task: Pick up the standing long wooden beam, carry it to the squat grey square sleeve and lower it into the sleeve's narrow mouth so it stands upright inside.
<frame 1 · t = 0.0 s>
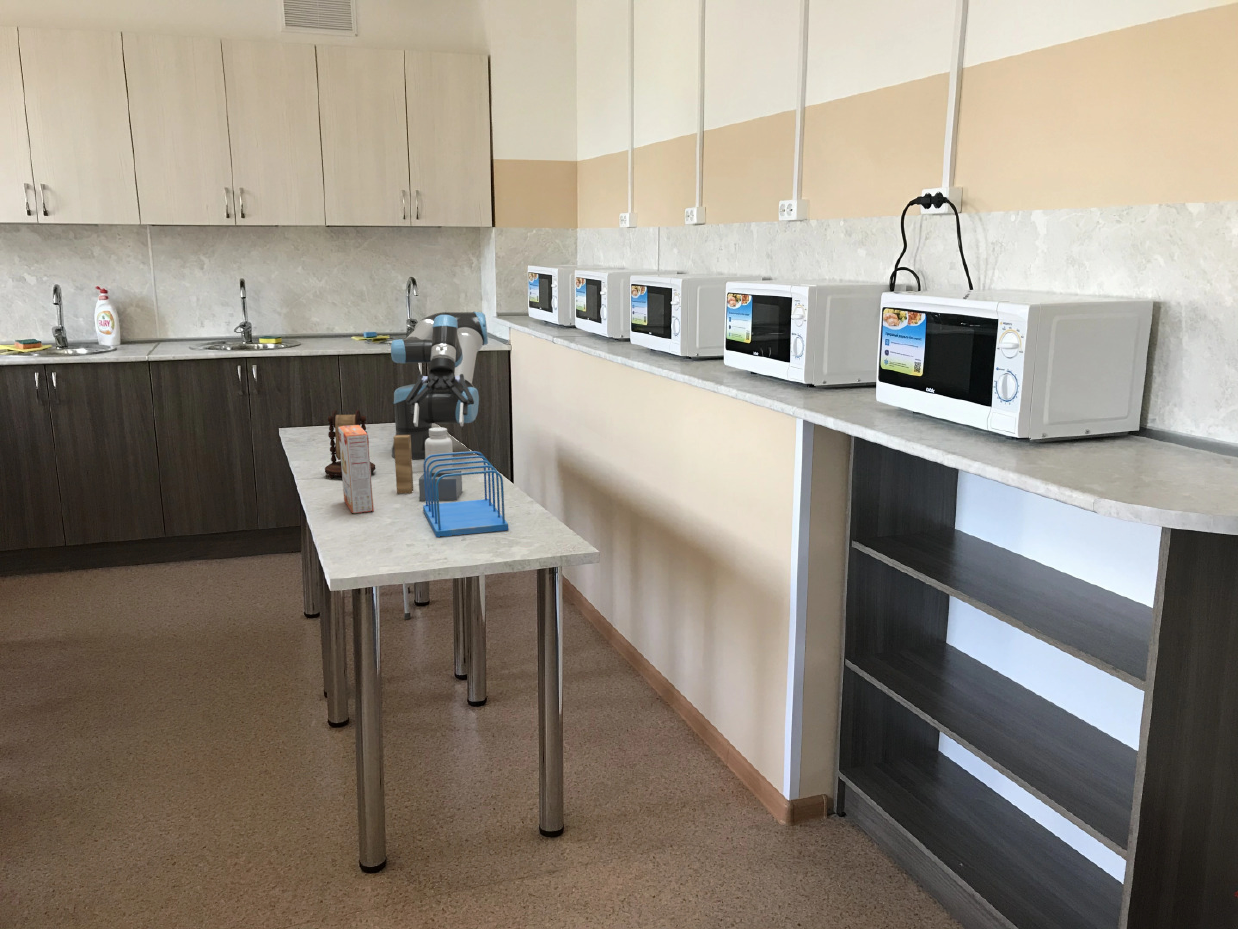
hand: (438, 424, 294), 15 cm above the table, tool tilted 35°, fingers open, 13 cm apart
grey square sleeve: (441, 496, 271), on the table
cracker box: (358, 507, 261), on the table
scroll: (350, 475, 298), on the table
pill bottle: (440, 479, 292), on the table
long wooden beam: (405, 492, 276), on the table
file sorter: (464, 522, 247), on the table
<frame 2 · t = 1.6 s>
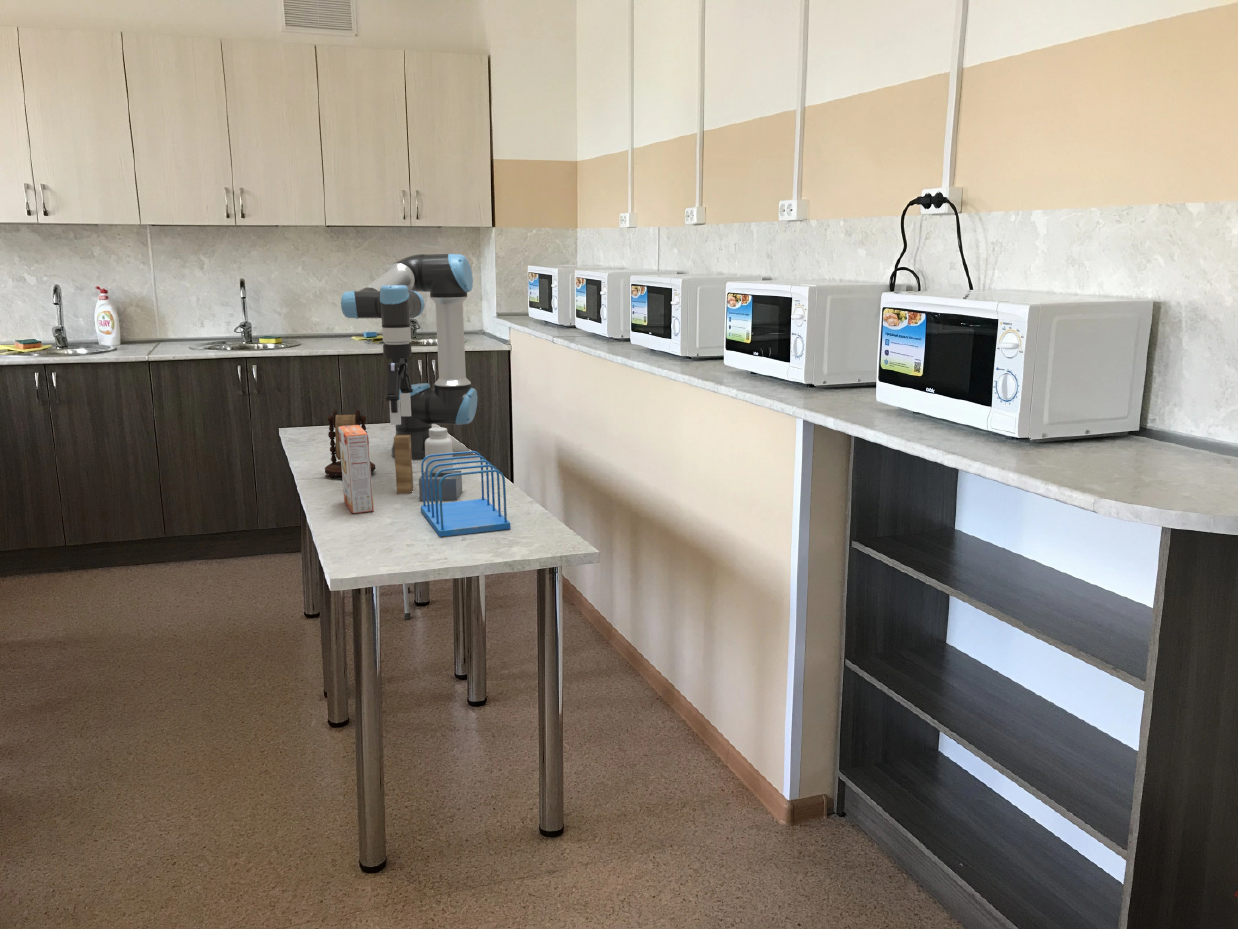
hand: (401, 420, 272), 20 cm above the table, tool pointing down, fingers open, 13 cm apart
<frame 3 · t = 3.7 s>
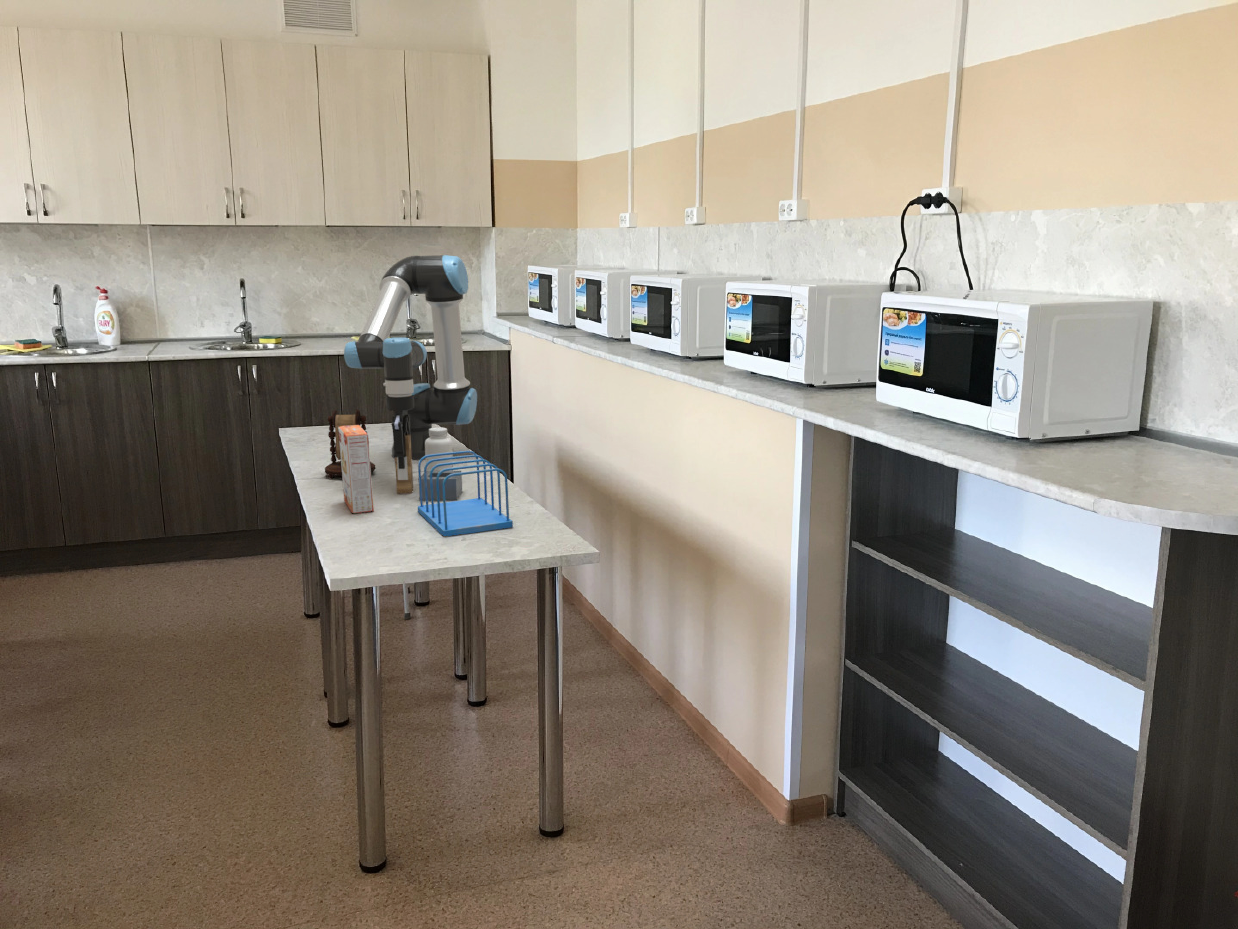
hand: (404, 477, 275), 4 cm above the table, tool pointing down, fingers closed on long wooden beam, 3 cm apart
long wooden beam: (405, 492, 276), on the table, touching gripper
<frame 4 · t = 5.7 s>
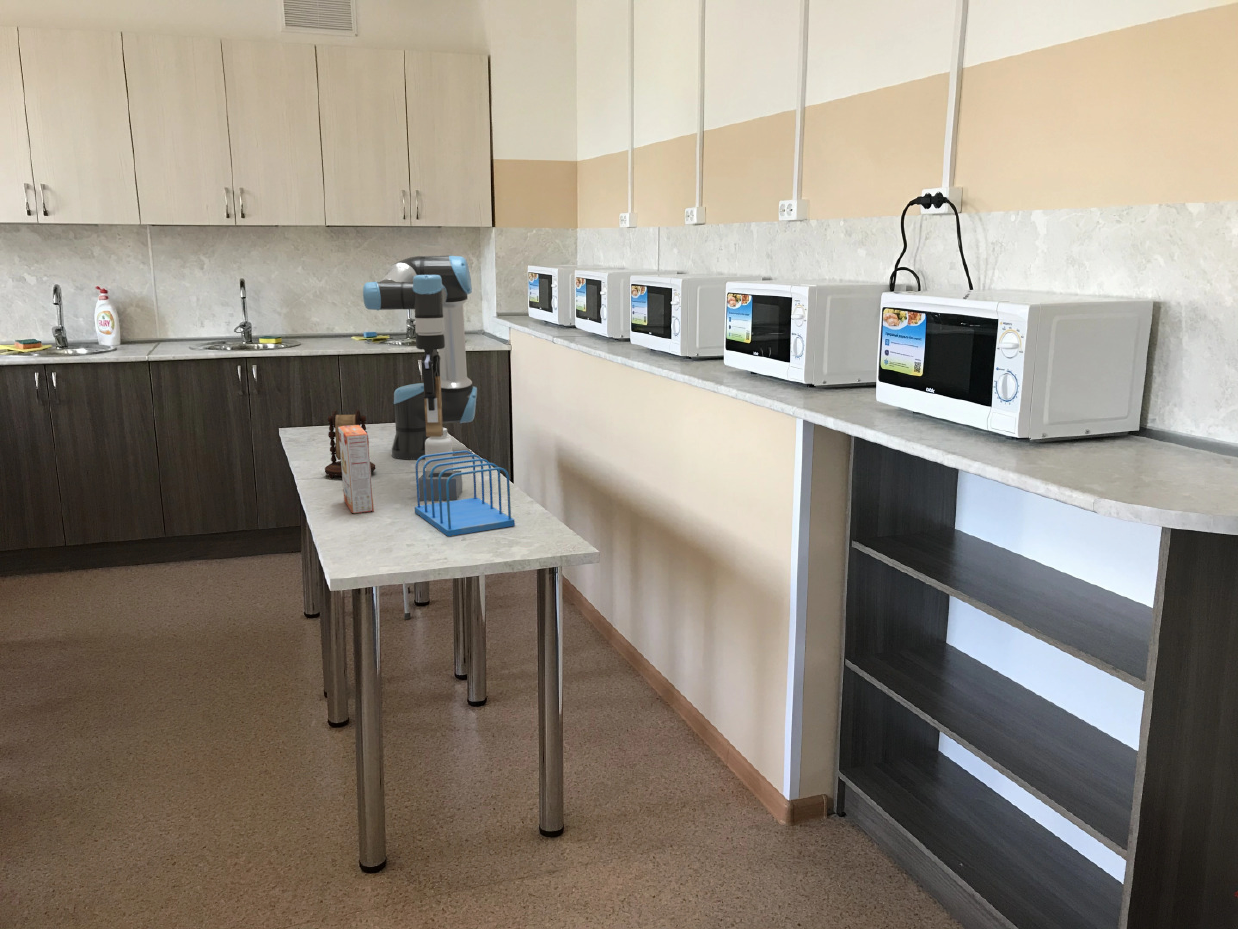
hand: (434, 420, 267), 21 cm above the table, tool pointing down, fingers closed on long wooden beam, 3 cm apart
long wooden beam: (434, 435, 268), point 17 cm above the table, touching gripper
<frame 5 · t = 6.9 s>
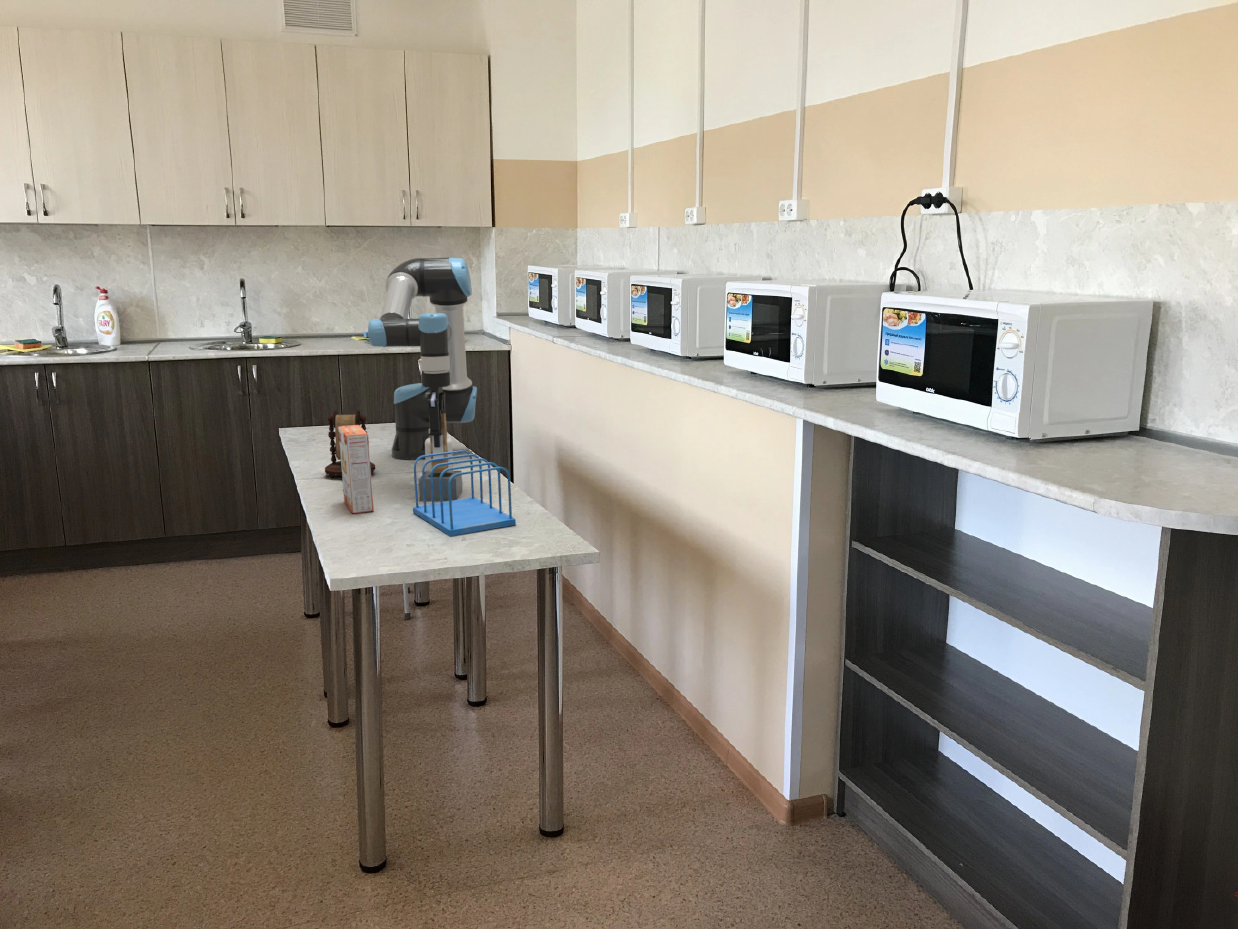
hand: (439, 457, 269), 11 cm above the table, tool pointing down, fingers closed on long wooden beam, 3 cm apart
long wooden beam: (440, 471, 270), point 7 cm above the table, touching gripper
when the fingers open (8 cm above the table, at t = 7.8 s): long wooden beam drops 3 cm, resting on grey square sleeve.
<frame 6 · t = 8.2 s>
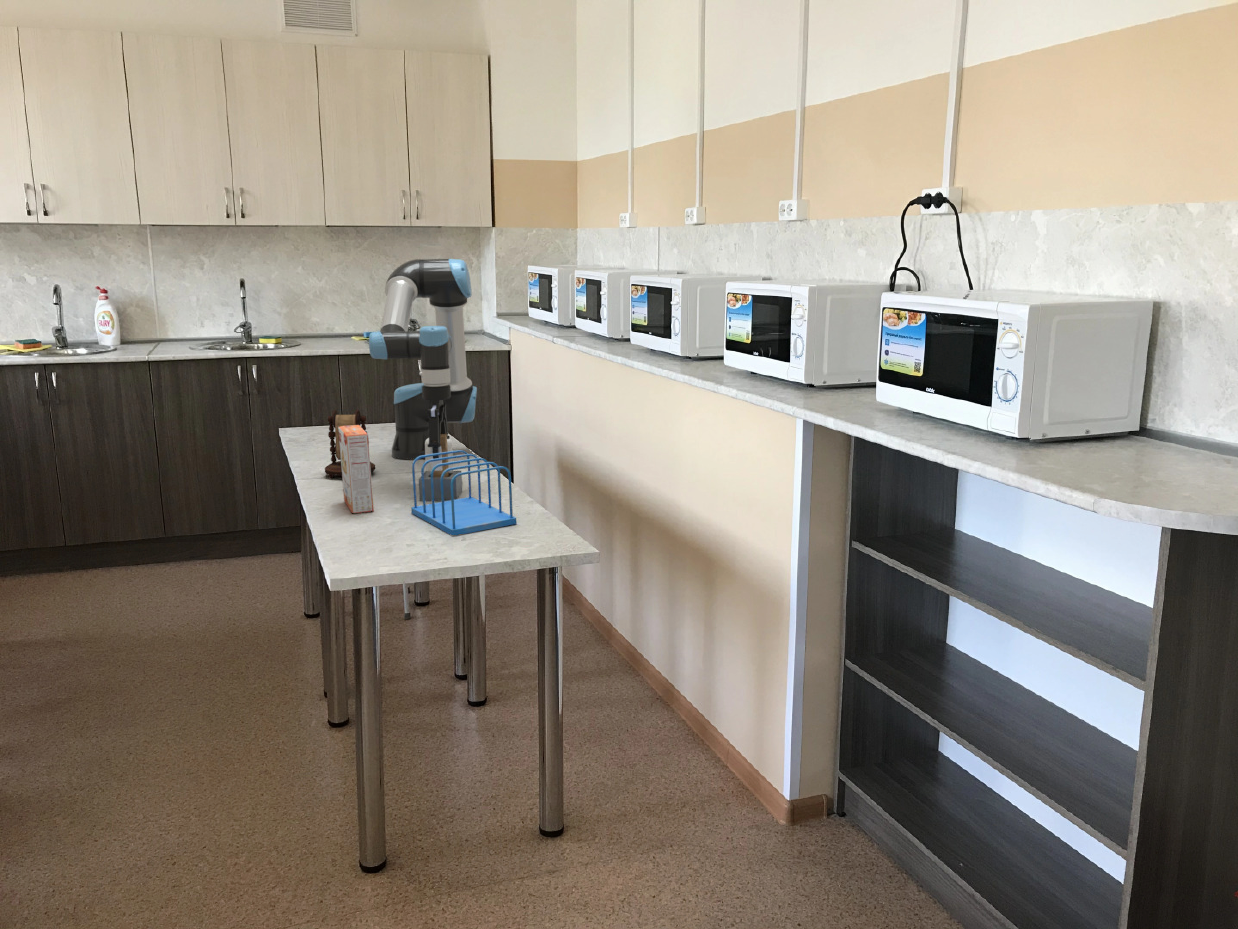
hand: (440, 466, 270), 8 cm above the table, tool pointing down, fingers open, 8 cm apart
long wooden beam: (441, 492, 271), point 1 cm above the table, touching grey square sleeve
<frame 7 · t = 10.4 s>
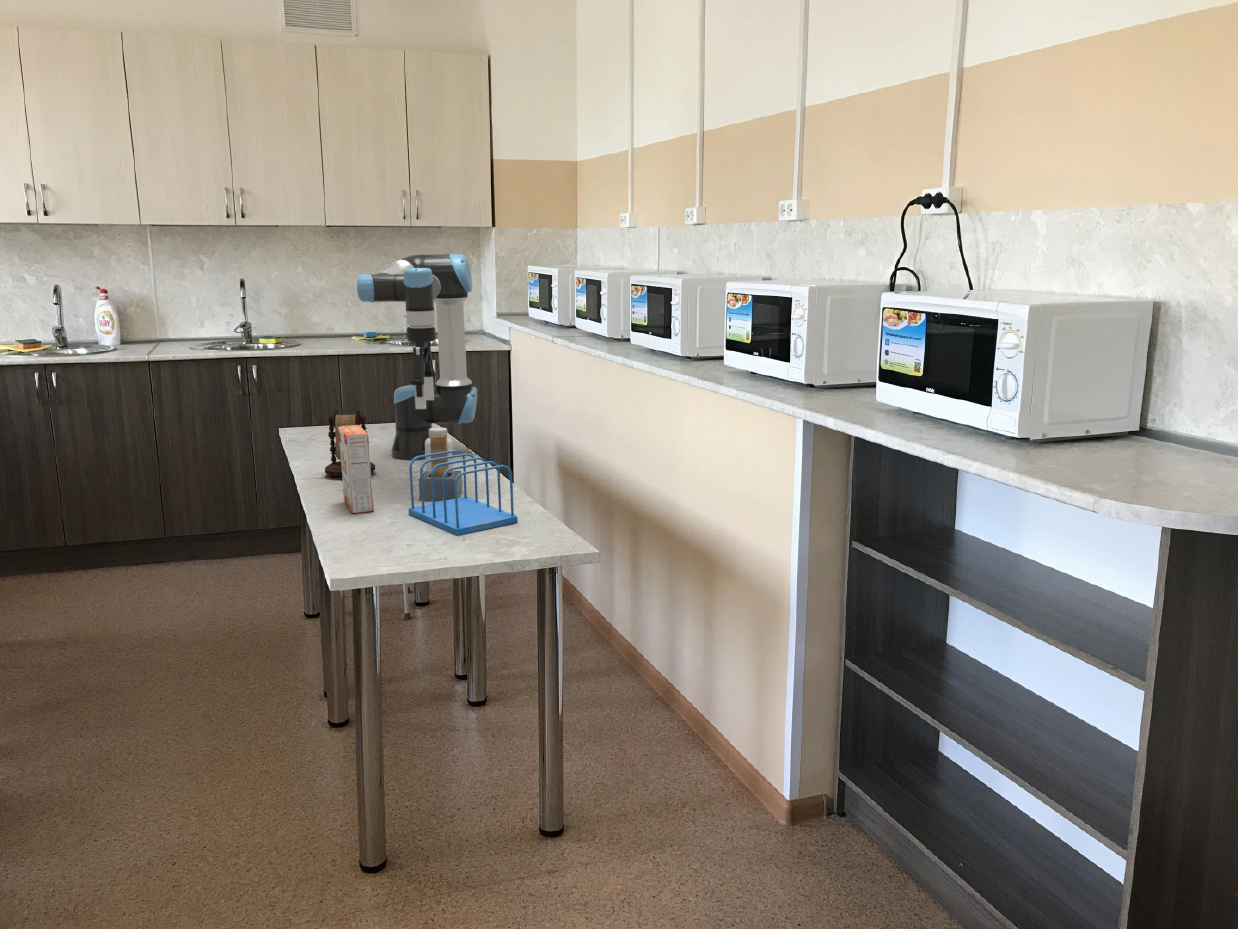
hand: (425, 404, 270), 25 cm above the table, tool pointing down, fingers open, 13 cm apart
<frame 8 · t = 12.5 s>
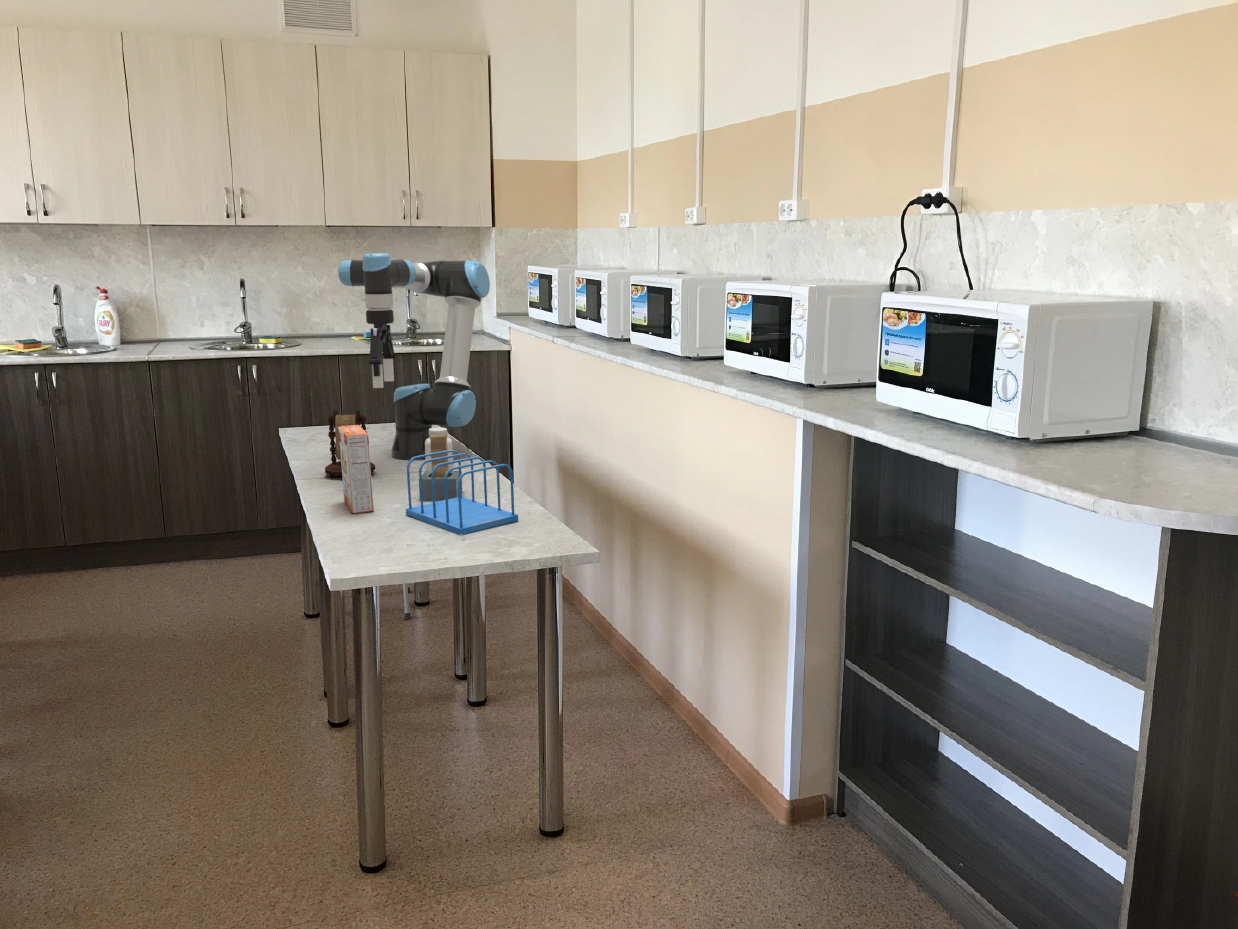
hand: (383, 384, 282), 29 cm above the table, tool pointing down, fingers open, 13 cm apart
at the end: long wooden beam 0.1 cm off-centre on the grey square sleeve, point 1.0 cm above the grey square sleeve's base; long wooden beam tilted 0°; the gripper is holding nothing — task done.
